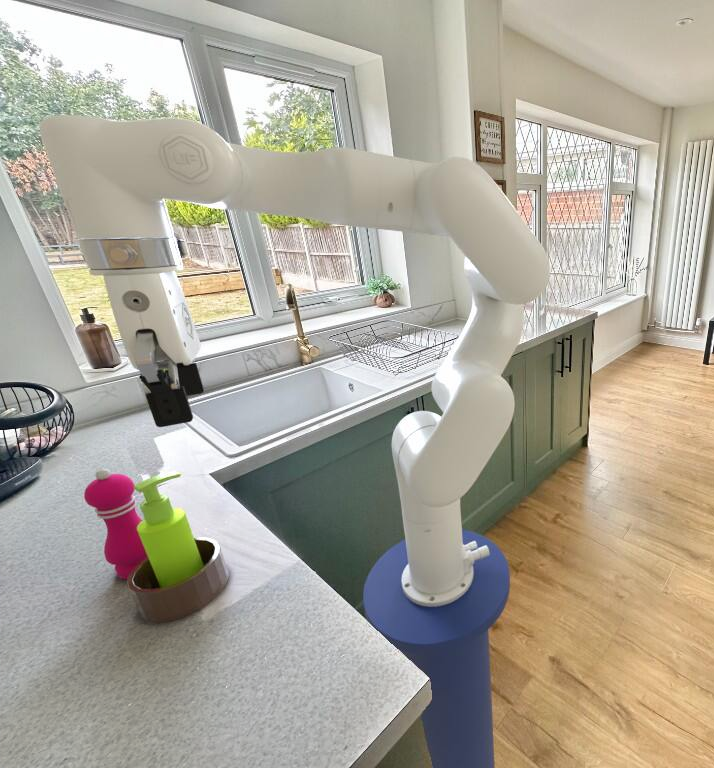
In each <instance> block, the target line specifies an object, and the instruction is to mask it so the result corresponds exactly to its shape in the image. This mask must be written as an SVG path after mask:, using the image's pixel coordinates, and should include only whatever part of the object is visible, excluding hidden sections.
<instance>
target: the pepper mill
mask: <svg viewBox="0 0 714 768" xmlns="http://www.w3.org/2000/svg"><path fill="white" fill-rule="evenodd" d="M94 477H95V479H93V480H92V481H91V482H90V483H89V484H88V485H86V487H85V490H84V492H83V493H84V494H83V495H84V496H83V497H84V500H85V502H86V503H87V505H88V506H90V507H92V508H94V512H95V513H96V517H97V518H99V519H101V520H103V522H104V524H105V525H106V531H107V534H106V539H105V542H104V549H103V554H104V559H105V560H106V562H107V563H108V564H110V565H113V566H114V570H115V572H116V575H117V577H118V578H120V579H122V580H128V578H129V575H130V573H131V572H132V571H133V570H134V569H135V567H136V566H137V565H138V564H139V563H140V562H142V561H143V560H144V559H146V558H147V557H148V555H147V553H146V551H145V548H144V546H143V543H142V541H141V538H140V536H139V533H138V531H137V526H138V524H139V523H140V522H141V521H142V520H143V519H142V518H141V517H140V516H139V515H138V513H137V510H136V506H137V504H138V501H137V500H136V496H135V495H133V494H134V492H135V488H134V485H135V483H134V481H133V480H132V478H130V477H129V476H127V475H125V474H123V473H111V470H110V469H108V468H100V469H98V470H97V471H96V472H95V475H94Z"/></svg>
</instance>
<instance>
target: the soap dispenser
mask: <svg viewBox="0 0 714 768" xmlns="http://www.w3.org/2000/svg"><path fill="white" fill-rule="evenodd" d="M181 475H182V473H181V472H179V471H178V470H171V471H167V472H163V473H159V474H156V475H154V476H152V477H149V478H147V479H145V480H143V481H141V482H138V483H136V484H134V488H135V489H134V491H137V492H138V493H142V494H143V496H144V500H143V501H141V503H140V504H139V507H140V510H141V512H142V515H143V517H144V519H142V521H141V522H140V523H139V524H138V526H137V531H138V533H139V536H140V538H141V541H142V543H143V546H144V548H145V551H146V553H147V555H148V558H149V560H150V563H151V565H152V568H153V570H154V573H155V575H156V577H157V580H158V582H159V585H160V587H161V588H164V587H167V586H170V585H173V584H176V583H178V582H180V581H182V580H185V579H187V578H189V577H191V576H192V575H194V574H195V573H197V572H198V571H200V570H201V569H202V568H203V567H204V565H203V562H202V560H201V557H200V554H199V551H198V548H197V545H196V543H195V540H194V538H195V537H194V534H193V531H192V529H191V528H192V527H191V526H190V523H189V520H188V517H187V515H186V511H185V510H184V509H183V508H179V507H173V506H172V504H171V500H170V498H169V496H168V495H167V494H160V492H159V489H158V487H157V486H158V485H160V484H163V483H164V482H167V481H171V480H174V479H178V478H180V477H181Z"/></svg>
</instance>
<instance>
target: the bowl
mask: <svg viewBox="0 0 714 768" xmlns="http://www.w3.org/2000/svg"><path fill="white" fill-rule="evenodd" d="M194 540H195V543H196V545H197V548H198V551H199V554H200V557H201V560H202V562H203V565H204V567H203V568H202V569H201V570H200V571H198V572H197V573H195V574H194V575H192V576H191V577H189V578H187V579H185V580H182V581H180V582H178V583H176V584H173V585H170V586H167V587H164V588H161V587H160V585H159V582H158V580H157V577H156V575H155V573H154V570H153V568H152V565H151V563H150V560H149V558H148V557H147V558H146V559H144V560H143V561H142V562H140V563H139V564H138V565H137V566H136V567H135V569H134V570H133V571H132V572H131V573H130V575H129V578H128V579H126V580H127V581H126V583H127V588H128V590H129V592H130V595H131V597H132V599H133V601H134V604H135V606H136V608H137V611H138V613H139V614H140V616H141V618H142V619H144V620H145V621H147V622H149V623H157V624H158V623H159V624H160V623H168V622H172V621H177V620H180V619H183V618H185V617H187V616H189V615H191V614H194V613H195V612H198V611H199V610H201V609H202V608H204V607H206V606H207V605H209V603H211V602H212V601H213V600H215V599H216V598H217V597H218V596H219V595H220V594H221V592H222V591H223V590H224V589H225V587H226V586H227V583H228V581H229V576H230V575H229V571H228V570H229V569H228V567H227V566H228V565H227V563H226V560H225V557H224V554H223V552H222V547H221V545H220V543H219V542H218V540H216V539H213V538H211V537H203V536H199V537H194Z"/></svg>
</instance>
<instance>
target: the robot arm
mask: <svg viewBox="0 0 714 768" xmlns="http://www.w3.org/2000/svg"><path fill="white" fill-rule="evenodd" d="M39 134H40V138H41V142H42V144H43V145H42V146H43V148H44V150H45V153H46V155H47V159H48V161H49V164H50V167H51V169H52V172H53V176H54V177H55V180H56V183H57V186H58V188H59V191H60V194H61V197H62V200H63V202H64V205H65V209H66V212H67V214H68V216H69V220H70V222H71V224H72V227H73V230H74V233H75V236H76V238H77V242H78V244H79V248H80V249H81V253H82V255H83V258H84V261H85V264H86V266H87V269H88V272H89V275H91V276H102V277H103V281H104V285H105V288H106V292H107V298H108V299H109V300H108V301H109V303H110V307H111V310H112V313H113V317H114V320H115V323H116V326H117V329H118V332H119V336H120V339H121V342H122V344H123V347H124V351H125V353H126V355H127V357H128V360H129V362H130V364H131V366H132V368H134V369H135V370H137V371H139V373H140V375H139V380H140V382H141V383H142V385H141V386H142V391H143V392H144V395H145V398H146V401H147V404H148V407H149V410H150V412H151V416H152V418H153V421H154V424H155V426H156V427H157V428H165V427H169V426H175V425H176V426H177V425H180V424H186V423H190V422H192V421H193V419H194V414H193V411H192V408H191V405H190V402H189V399H188V396H196V395H200V394H204V391H205V387H204V384H203V381H202V379H201V378H202V377H201V375H200V370H199V368H198V364H197V362H195V359H196V357H197V356H198V354H199V352H200V350H201V346H202V345H201V341H200V338H199V334H198V332H197V329H196V326H195V323H194V320H193V317H192V314H191V310H190V308H189V304H188V301H187V299H186V296H185V293H184V290H183V288H182V285H181V282H180V280H179V278H178V275H177V274H176V272H178V271H184V266H183V261H182V258H181V254H180V250H179V248H178V244H177V239H176V238H175V234H174V230H173V226H172V223H171V220H170V215H169V212H168V208H167V205H166V202H165V200H167V201H174V202H175V201H176V202H183V203H189V204H194V205H200V206H204V207H207V208H211V209H217V210H226V211H237V212H245V213H252V214H253V213H254V214H263V215H264V214H265V215H272V216H281V217H291V218H300V219H307V220H313V221H317V222H321V223H324V224H329V225H337V226H346V227H355V228H365V229H374V230H375V229H376V230H384V231H393V232H394V231H395V232H401V233H403V232H404V233H411V234H418V235H419V234H420V235H427V236H439V237H449V238H450V239H451V240H452V242H453V243H454V244H455V245H456V247H457V248H458V249H459V250H460V251H461V253H462V254H463V255H464V259H463V270H464V271H463V272H464V275H465V279H466V281H467V284H468V285H469V288H470V293H471V310H470V314H469V316H468V319H467V320H466V323H465V325H464V327H463V329H462V331H461V333H460V335H459V336H458V338H457V339H456V340H455V343H454V344H453V345H452V347H451V349H450V351H449V352H448V354H447V355H446V357H445V359H444V360H443V362H442V363H441V364H440V366H439V368H438V369H437V371H436V373H435V375H434V377H433V379H432V381H431V387H430V388H431V395H432V397H433V400H434V401H435V403H436V404H437V406H438V407H439V409H440V411H442V414H441V415H439V414H437V413H435V412H432V411H429V410H417V411H413V412H411V413H409V414H407V415H406V416H404V417H402V419H400V420H399V422H398V423H397V425H396V426H395V428H394V430H393V433H392V437H391V454H392V459H393V460H392V461H393V466H394V470H395V475H396V481H397V486H398V492H399V493H398V494H399V501H400V507H401V516H402V524H403V531H404V537H405V538H404V540H406V548H407V556H408V565H407V566H406V567H405V569H404V571H403V574H402V581H401V582H402V588H403V592H404V594H405V595H406V597H407V598H408V599H409V600H410V601H412V602H414V603H415V604H418V605H421V606H427V607H437V606H442V605H446V604H449V603H451V602H453V601H455V600H457V599H458V598H460V597H461V596H462V595H464V593H465V592H466V591H467V590H468V589H469V587H470V585H471V583H472V581H473V575H474V572H473V565H472V564H474V561H476V560H478V559H482V558H485V557H487V556H489V555H490V553H489V549H488V547H487V546H486V545H485V546H483V547H480V548H478V549H477V550H474V551H472V552H471V551H470V550H473V549H476V548H477V543H476V541H473V542H471V543H468V544H466V545H463V539H462V530H463V525H462V513H461V498H462V497H463V496H464V495H466V493H467V492H468V491H469V490H470V489H471V488H472V486H473V485H474V484H475V482H476V481H477V479H478V478H479V476H480V475H481V473H482V472H483V469H484V468H485V467H486V465H487V463H488V462H489V461H490V460H491V458H492V455H493V454H494V452H495V451H496V450H497V448H498V446H499V445H500V443H501V441H502V439H503V438H504V437H505V435H506V433H507V432H508V429H509V428H510V425H511V423H512V421H513V417H514V414H515V405H516V404H515V394H514V391H513V389H512V387H511V385H510V384H509V383H508V381H507V380H506V379H505V378H503V376H502V375H503V373H504V371H505V369H506V367H507V366H508V365H509V362H510V360H511V358H512V357H513V354H514V353H515V351H516V349H517V347H518V345H519V342H520V340H521V338H522V334H523V330H524V324H525V308H524V307H525V306H524V305H526V304H528V303H532V302H534V301H536V300H537V298H539V297H540V296H541V295H542V294H543V293H544V291H545V290H546V288H547V286H548V285H549V284H548V283H549V280H550V274H551V266H550V262H549V258H548V255H547V253H546V251H545V248H544V246H543V245H542V244H541V242H540V241H539V239H538V238H537V236H536V235H535V233H534V232H533V231H532V229H531V228H530V227H529V225H528V224H527V223H526V222H525V220H524V219H523V217H522V216H521V215H520V213H519V212H518V210H517V209H516V208H515V206H514V205H513V204H512V203H511V201H510V200H509V198H508V197H507V196H506V193H504V191H503V190H502V189H501V188H500V186H499V185H498V184H497V183H496V181H494V179H493V177H492V176H490V174H488V172H487V171H486V170H484V169H483V168H482V167H481V166H480V165H479V164H477V163H476V162H475V161H473V160H471V159H469V158H466V157H462V156H453V157H448V158H445V159H443V160H441V161H439V162H437V163H433V162H426V161H421V160H416V159H411V158H405V157H398V156H393V155H387V154H382V153H378V152H373V151H366V150H361V149H357V148H352V147H346V146H345V147H343V146H342V147H341V146H340V147H338V146H337V147H328V148H327V147H326V148H322V149H318V150H313V151H312V150H311V151H304V152H303V151H302V152H300V151H299V152H297V151H296V152H295V151H279V150H273V149H265V148H261V147H260V148H259V147H254V146H248V145H241V144H236V143H231V142H227V141H226V140H225V139H224V138H223V137H222V136H221V135H220V134H219V133H218V132H217V131H215V130H214V129H212V128H211V127H209V126H208V125H206V124H203V123H201V122H199V121H196V120H193V119H188V118H184V117H183V118H181V117H160V118H148V119H135V120H133V119H132V120H131V119H130V120H114V119H109V118H105V117H98V116H90V115H81V114H80V115H79V114H55V115H50V116H47V117H45V118H44V119H42V120H41V122H40V123H39Z"/></svg>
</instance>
